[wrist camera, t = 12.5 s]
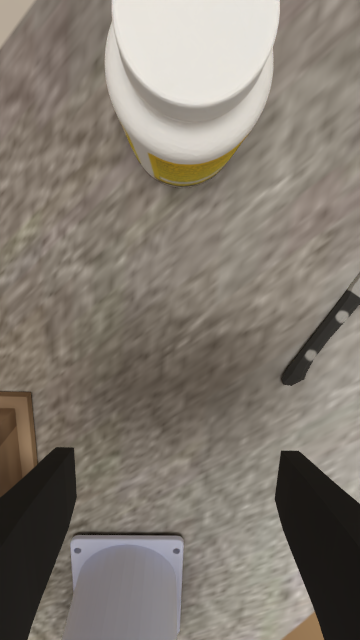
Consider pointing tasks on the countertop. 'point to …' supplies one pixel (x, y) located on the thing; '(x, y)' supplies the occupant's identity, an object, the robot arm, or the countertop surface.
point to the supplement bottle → (189, 80)
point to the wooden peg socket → (16, 438)
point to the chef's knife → (323, 334)
